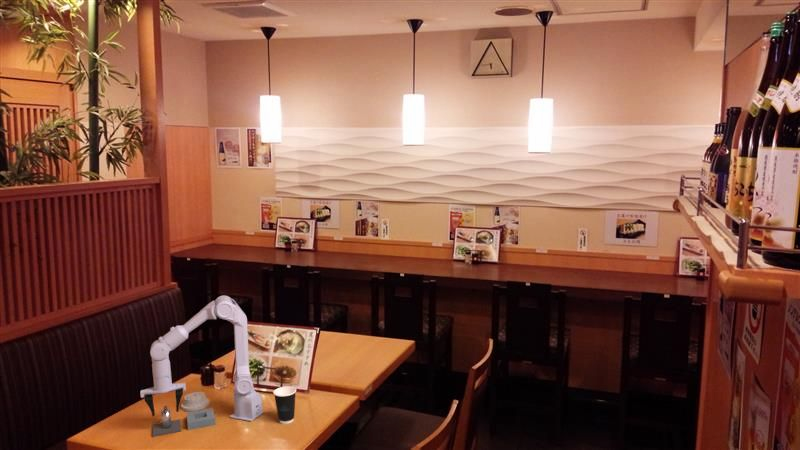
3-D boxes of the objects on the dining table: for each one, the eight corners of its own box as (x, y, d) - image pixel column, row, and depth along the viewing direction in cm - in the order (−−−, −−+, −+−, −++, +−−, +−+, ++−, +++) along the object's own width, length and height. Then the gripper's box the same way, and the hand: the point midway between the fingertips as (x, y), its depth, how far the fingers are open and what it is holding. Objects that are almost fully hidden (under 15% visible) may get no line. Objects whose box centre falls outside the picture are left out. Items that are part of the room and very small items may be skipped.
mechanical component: (176, 411, 219) (200, 412, 217) (175, 399, 219) (199, 401, 217) (190, 400, 229) (214, 401, 227) (189, 389, 228) (213, 390, 226)
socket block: (213, 414, 215) (212, 407, 214) (215, 424, 206) (214, 418, 206) (187, 419, 211) (186, 412, 211) (188, 430, 203) (187, 423, 203)
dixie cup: (292, 413, 213) (290, 384, 212) (301, 421, 207) (300, 391, 205) (271, 420, 209) (269, 390, 207) (280, 428, 202) (278, 397, 201)
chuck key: (171, 422, 208) (169, 404, 207) (171, 429, 203) (170, 410, 202) (162, 424, 207) (160, 405, 206) (162, 431, 202) (160, 412, 201)
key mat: (180, 420, 211) (180, 419, 211) (181, 431, 202) (180, 429, 202) (153, 425, 207) (153, 424, 207) (152, 437, 199) (152, 435, 199)
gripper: (184, 367, 209) (187, 404, 210) (139, 374, 203) (143, 412, 205) (184, 374, 202) (188, 412, 204) (138, 382, 197) (142, 420, 199)
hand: (165, 412), depth 204 cm, fingers open, 7 cm apart
